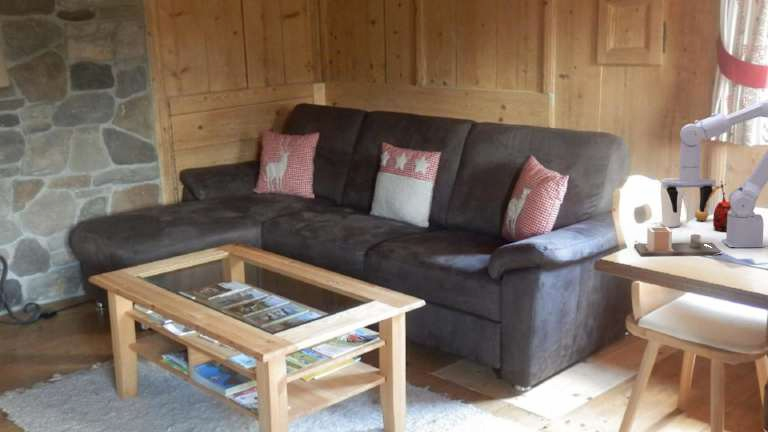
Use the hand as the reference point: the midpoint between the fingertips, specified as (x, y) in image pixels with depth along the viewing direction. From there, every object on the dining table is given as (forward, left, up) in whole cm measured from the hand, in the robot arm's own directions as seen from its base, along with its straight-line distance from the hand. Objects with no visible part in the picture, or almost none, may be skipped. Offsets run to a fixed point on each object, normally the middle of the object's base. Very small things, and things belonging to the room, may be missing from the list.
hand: (688, 211), depth 249 cm
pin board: (+5, +9, -9) cm, 14 cm away
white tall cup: (0, -21, -10) cm, 23 cm away
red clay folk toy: (-15, -15, -10) cm, 23 cm away
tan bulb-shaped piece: (-12, -27, -10) cm, 31 cm away
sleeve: (+10, +9, -8) cm, 16 cm away
